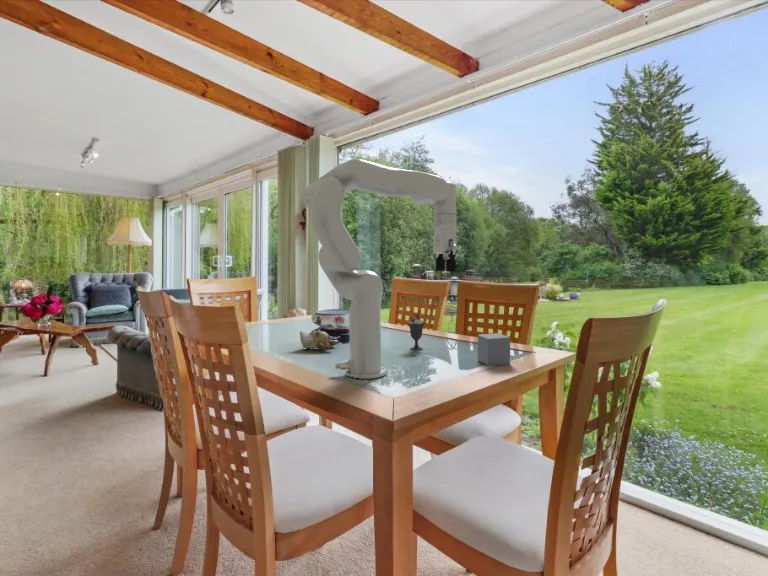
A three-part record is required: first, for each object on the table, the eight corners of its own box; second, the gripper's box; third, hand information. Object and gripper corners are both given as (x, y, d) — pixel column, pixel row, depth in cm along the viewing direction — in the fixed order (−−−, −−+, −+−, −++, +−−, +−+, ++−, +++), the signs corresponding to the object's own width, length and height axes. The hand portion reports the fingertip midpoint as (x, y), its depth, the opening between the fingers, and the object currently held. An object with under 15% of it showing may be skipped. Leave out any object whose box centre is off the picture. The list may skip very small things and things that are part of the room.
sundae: (424, 351, 161) (423, 311, 160) (406, 350, 163) (406, 311, 162) (426, 347, 168) (425, 309, 167) (409, 347, 169) (408, 309, 168)
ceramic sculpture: (304, 324, 174) (340, 327, 172) (304, 346, 175) (340, 348, 173) (295, 329, 164) (333, 332, 161) (294, 352, 164) (333, 355, 162)
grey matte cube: (488, 366, 139) (488, 338, 138) (477, 360, 146) (477, 334, 145) (509, 364, 140) (510, 337, 140) (498, 358, 148) (498, 333, 147)
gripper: (426, 222, 153) (426, 270, 154) (443, 217, 136) (444, 272, 137) (446, 222, 154) (446, 269, 156) (466, 217, 138) (466, 271, 139)
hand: (445, 271), depth 147 cm, fingers open, 9 cm apart
